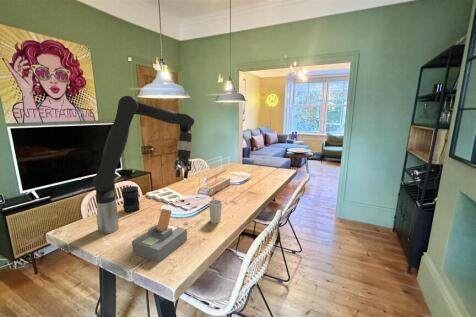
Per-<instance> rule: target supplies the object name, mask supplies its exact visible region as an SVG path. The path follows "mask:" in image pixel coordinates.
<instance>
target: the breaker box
mask: <svg viewBox="0 0 476 317" xmlns="http://www.w3.org/2000/svg"><path fill="white" fill-rule="evenodd" d="M157 226H158V223H157V224H155V225H154V226H152V227H151V228H149V229H148V231H146V232H144V233H143V234H142V235H140V236H138V237H136V238H135V239H133V240H131V245H132V248H131V249H132V253H133V254H135V255H139V256H141V257H144V258H146V259H149V260H152V261H155V262H157V263H160V262H161V261H163V260H164V259H165V258H166V257H167V256H169V255H170V254H171V253H173V252H174V251H175V250H176V249H177V248H178V247H180V246H181V245H183V244H184V243H185V242H186V241H187V240H188V230H187V229H186V228H184V227H180V226H176V225H172V224H168V228H167V230H165V231H164V232H162V233H161V234H159V233H156V230H157Z"/></svg>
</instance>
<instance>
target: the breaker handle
mask: <svg viewBox="0 0 476 317" xmlns="http://www.w3.org/2000/svg"><path fill="white" fill-rule="evenodd" d="M171 214H172V210H171V209H166V208H161V211H160V215H159V218H158V222H157V224H158V226H157V230H156V233H159V234H161V233H162V232H164V231H165V230H167V228H168V224H169V223H170V219H171Z"/></svg>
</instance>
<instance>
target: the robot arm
mask: <svg viewBox="0 0 476 317" xmlns="http://www.w3.org/2000/svg"><path fill="white" fill-rule="evenodd" d="M117 104H118V105H117V109H116V114H115V118H114V121H113V124H112V125H111V128H110V130H109V132H108V134H107V138H106V141H105V144H104V147H103V152H102V156H101V162H100V166H99V168H98V170H97V173H96V174H95V176H94V177H93V180H92V181H93V182H92V184H93V187H94V188H95V202H96V209H97V211H96V212H97V214H96V224H97V231H98V232H99V233H100V234H105V235H107V234H111V233H114V232H116V231H118V229H119V228H120V227H119V217H118V207H117V197H116V184H115V183H116V182H115V175H116V170H117V167H118V165H119V163H120V161H121V159H122V157H123V154H124V151H125V148H126V145H127V142H128V139H129V135H130V134H129V133H130V127H131V124H132V121H133V118H134V116H135V115H139V116H140V115H141V116H144V117H147V118H151V119H155V120H158V121H160V122H164V123H167V124H171V125H179V137H178V144H177V151H176V157H177V158H178V159H177V158H176V159H174V160H175V161H174V170H175V177H176V178H180V177H181V170H182V169H183V179H188V178H189V172H190V171H191V170H192V163H193V162H192V159H191V154H192V137H193V136H192V127H193V126H194V124H195V118H194V117H193V116H192V115H190V114H187V113H181V112H176V111H174V110H170V109H167V108H166V109H165V108H163V107H158V106H153V105H149V104H146V103H143V102H141V101H139V100H137V99H136V98H134V97H133V96H131V95H124V96H122V97H120V99H119V100H118V102H117Z"/></svg>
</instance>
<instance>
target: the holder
mask: <svg viewBox="0 0 476 317" xmlns="http://www.w3.org/2000/svg"><path fill="white" fill-rule="evenodd" d="M146 197H148V198H150V199H155V200H156V201H158V202H164V203H165V204H167V203H169V202H174V201H175V200H177V199H180V198H187V196H184V195H182V194H181V193H179V192H176V191H175V190H172V189H170V188H169V187H166V188H162V189H161V188H160V189H157V190H153V191H149V192H146Z"/></svg>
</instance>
